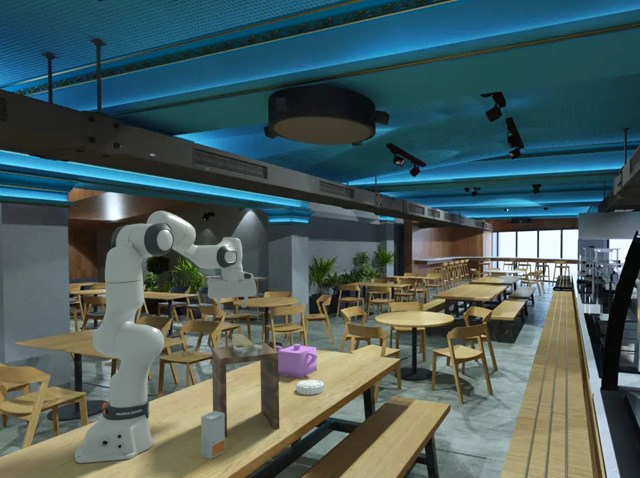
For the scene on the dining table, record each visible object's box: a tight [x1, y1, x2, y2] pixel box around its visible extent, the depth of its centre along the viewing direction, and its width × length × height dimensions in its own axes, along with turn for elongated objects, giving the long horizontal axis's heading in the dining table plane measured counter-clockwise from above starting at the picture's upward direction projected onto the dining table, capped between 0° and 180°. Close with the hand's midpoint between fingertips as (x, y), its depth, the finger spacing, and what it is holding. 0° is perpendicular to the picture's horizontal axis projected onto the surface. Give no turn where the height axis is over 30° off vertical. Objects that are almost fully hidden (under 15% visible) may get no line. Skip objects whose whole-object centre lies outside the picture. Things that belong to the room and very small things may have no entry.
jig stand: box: [211, 342, 280, 438], centre depth 164 cm, size 20×19×29 cm
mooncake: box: [295, 379, 325, 396], centre depth 201 cm, size 12×12×4 cm
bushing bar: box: [231, 333, 255, 348], centre depth 166 cm, size 4×22×4 cm, turn 21°
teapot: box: [275, 343, 318, 379], centre depth 230 cm, size 15×25×14 cm, turn 59°
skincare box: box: [200, 411, 226, 460], centre depth 140 cm, size 6×4×12 cm
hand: (232, 308), depth 195 cm, fingers open, 8 cm apart
